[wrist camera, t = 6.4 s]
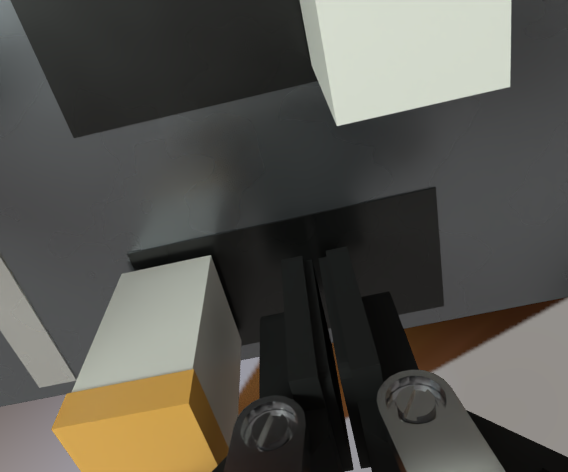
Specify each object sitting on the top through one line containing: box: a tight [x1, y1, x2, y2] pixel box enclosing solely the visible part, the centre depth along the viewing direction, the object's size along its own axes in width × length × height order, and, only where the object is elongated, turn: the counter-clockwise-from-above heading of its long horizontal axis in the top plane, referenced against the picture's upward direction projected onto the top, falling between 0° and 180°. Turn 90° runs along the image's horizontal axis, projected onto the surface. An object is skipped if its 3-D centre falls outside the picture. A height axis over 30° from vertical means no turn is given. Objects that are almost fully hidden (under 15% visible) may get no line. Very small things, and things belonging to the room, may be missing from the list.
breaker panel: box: [0, 0, 568, 407], centre depth 13 cm, size 20×11×4 cm, turn 103°
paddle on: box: [51, 255, 241, 472], centre depth 11 cm, size 2×3×5 cm
